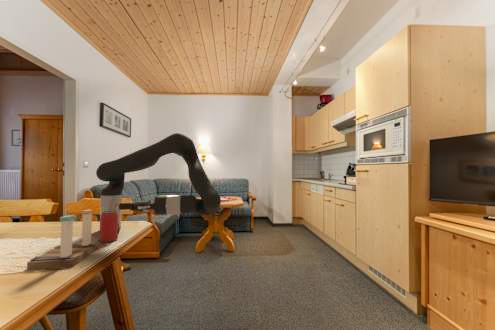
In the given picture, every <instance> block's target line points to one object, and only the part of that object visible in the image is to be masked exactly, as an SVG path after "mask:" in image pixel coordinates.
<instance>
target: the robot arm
mask: <svg viewBox="0 0 495 330" xmlns="http://www.w3.org/2000/svg"><path fill="white" fill-rule="evenodd" d="M168 154H169V155H170V154H175V155H177V156H179V157H182V159H183V160H184V161H185V163H186V165H187V169H188V170H187V172H188V173H187V174H188V178H189V180H190V183H191V185H192V187H193V189H194V191H195V193H196V194H198V195H199V197H200V198H197V197H196V196H195V195H192V194H191V195H189V194H188V195H187V194H185V195H183V194H182V195H179V194H161V195H155V197H154V199H153V201H152V199H146V200H138V201H132V202H122V198H123V196H122V195H123V191H124V186H125V176H126V175H125V174H127V173H133V172H139V171H144V170H146V169H148V168H151V167H153V166H154V165H156V164H157V163H158V161H159V160H160V158H162V157H163V156H166V155H168ZM95 174H96V177H97V178H98V179H99V181H102V182H108V185H107V186H106V187H104V188H102V189H100V190H101V191H100V207H99V209H100V210H99V218H100V217H101V214H102V212H104V211H114V210H116V211H117V214H118V222H119V227H120V230H121V229H122V211H123V210H130V211H132V212H133V211H134V212H150V211H151V210H154V213H153V214H154V215H155V216H172V215H173V216H175V215H180V214H181V215H182V214H183V215H184V214H194V215H195V214H196V215H201V216H211V215H215V214H217V213H218V212H219V211H220V209H221V208H220V207H221V202H222V199H221V195H220V194H219V192H218V190H216V188H215V187H214V186H213V185H212V183H211V181H210V178H209V177H208V175H207V173H206V172H205V169H204V168H203V166H202V163H201V160H200V158H199V155H198V153H197V149H196V145H195V143H194V140H192V139H191V138H190V137H188V136H187V135H185V134H183V133H180V132H176V133H172V134H169V136H166V137H165V138H162V140H159V141H157V142H156V143H153V144H151V145H148V146H146V147H143V148H140V149H138V150H135V151H134V152H131V153H129V154H126V155H124V156H122V157H120V158H117V159H115V160H111V161H107V162H104V163H102V164H100V165H99V166H98V167H97V169H96V172H95ZM117 202H118V204H119V205H118V204H117ZM115 204H117V206H116V209H115Z"/></svg>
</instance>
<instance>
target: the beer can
mask: <svg viewBox="0 0 495 330" xmlns="http://www.w3.org/2000/svg"><path fill="white" fill-rule="evenodd" d="M118 235H119V234H118V214H117V211H104V212H102V214H101V217H100V216H99V242H102V243H109V242H114V241H116V240H118V238H119V236H118Z"/></svg>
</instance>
